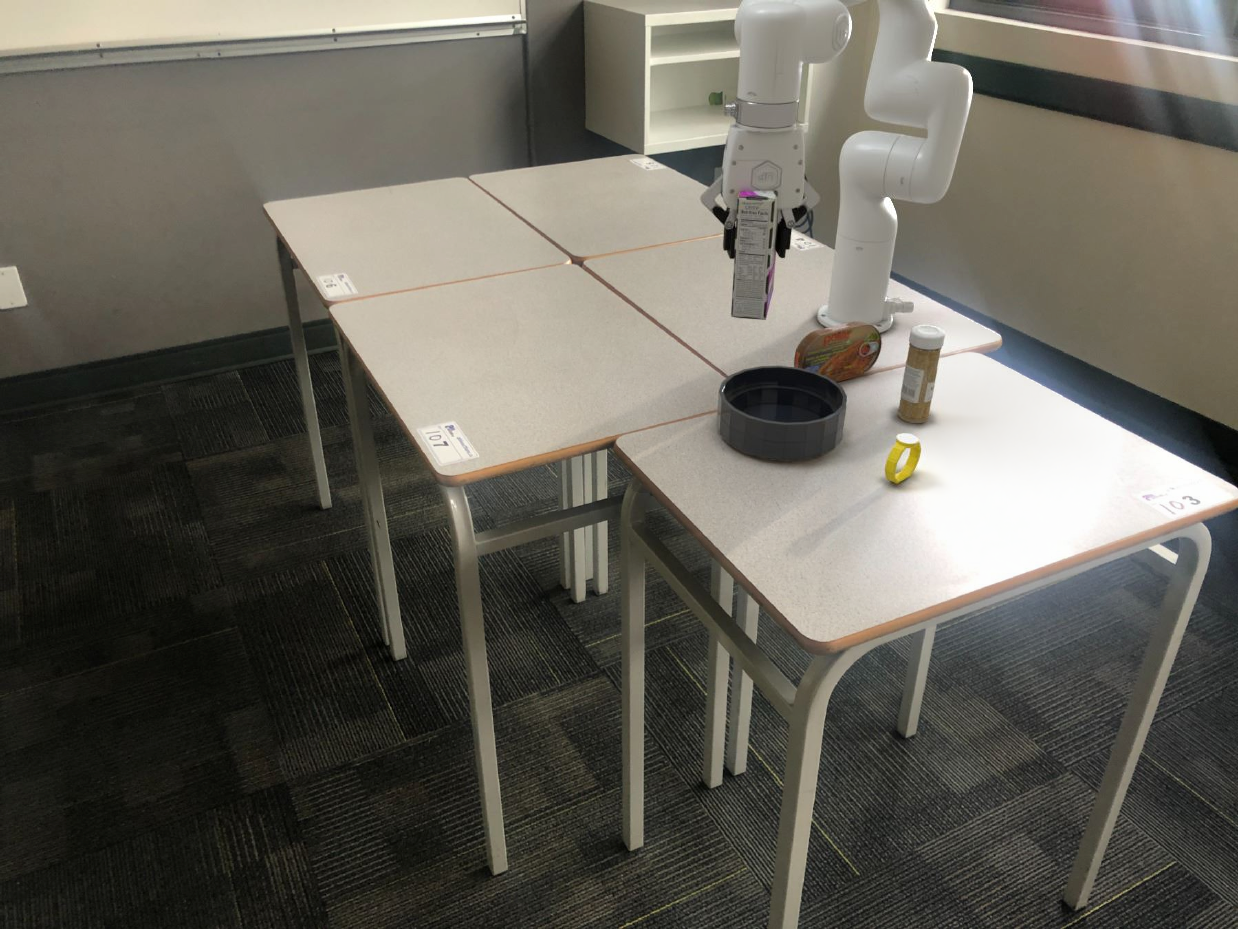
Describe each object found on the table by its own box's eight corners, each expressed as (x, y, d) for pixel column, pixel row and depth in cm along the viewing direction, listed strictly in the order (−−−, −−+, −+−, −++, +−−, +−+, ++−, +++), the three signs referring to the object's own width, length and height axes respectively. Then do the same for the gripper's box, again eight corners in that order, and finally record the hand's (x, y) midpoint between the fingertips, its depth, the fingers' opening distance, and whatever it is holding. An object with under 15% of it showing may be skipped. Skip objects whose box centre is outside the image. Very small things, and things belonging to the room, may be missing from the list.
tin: (800, 392, 148) (806, 340, 144) (788, 383, 151) (793, 332, 146) (879, 371, 154) (887, 321, 150) (866, 363, 157) (873, 313, 152)
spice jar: (934, 422, 140) (952, 335, 133) (905, 426, 140) (920, 338, 132) (919, 407, 144) (935, 321, 137) (890, 410, 143) (905, 324, 136)
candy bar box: (738, 287, 140) (746, 170, 131) (773, 290, 139) (784, 172, 130) (728, 318, 131) (736, 194, 122) (766, 321, 130) (777, 197, 121)
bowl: (824, 400, 146) (829, 364, 143) (856, 461, 131) (862, 422, 128) (708, 404, 145) (710, 367, 142) (728, 466, 130) (730, 426, 127)
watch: (895, 491, 125) (902, 451, 122) (877, 482, 127) (883, 442, 124) (921, 474, 129) (929, 434, 126) (903, 466, 130) (910, 426, 127)
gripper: (700, 121, 118) (694, 266, 127) (843, 119, 119) (826, 264, 128) (693, 107, 124) (687, 246, 134) (829, 106, 125) (813, 244, 135)
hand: (755, 253), depth 131 cm, fingers closed on candy bar box, 5 cm apart
